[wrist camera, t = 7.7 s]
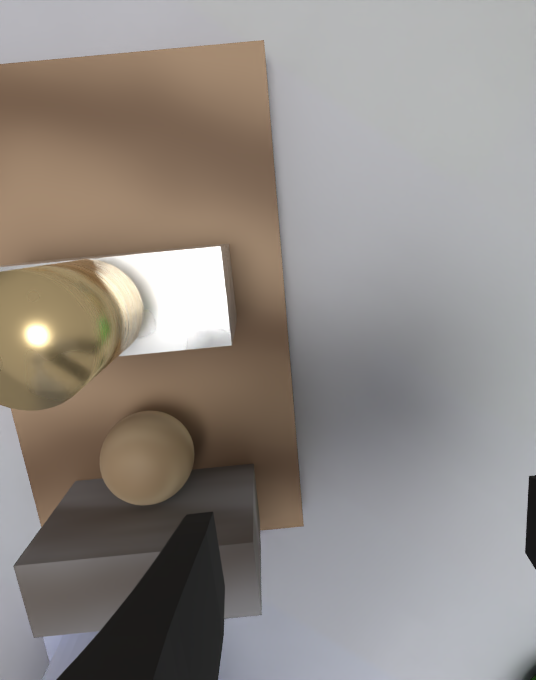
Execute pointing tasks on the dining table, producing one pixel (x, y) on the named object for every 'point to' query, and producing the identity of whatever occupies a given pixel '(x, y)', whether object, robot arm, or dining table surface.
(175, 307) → the jaw
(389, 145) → the dining table surface
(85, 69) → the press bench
